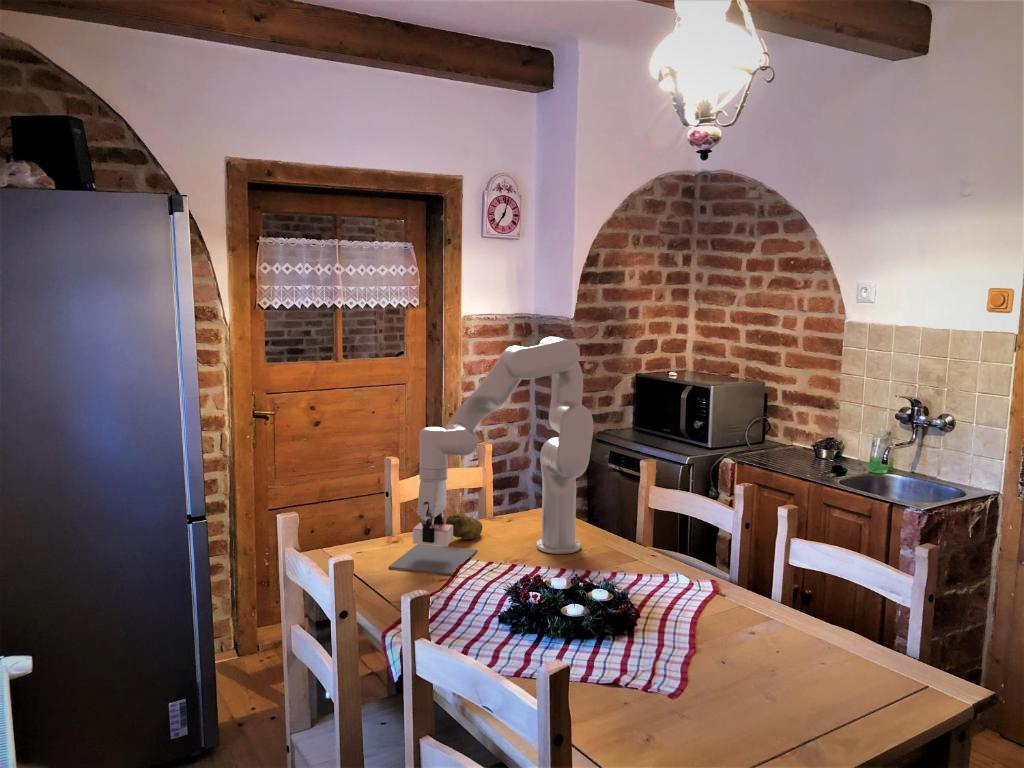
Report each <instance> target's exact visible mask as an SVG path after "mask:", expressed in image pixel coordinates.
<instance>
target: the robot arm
mask: <svg viewBox="0 0 1024 768" xmlns="http://www.w3.org/2000/svg"><path fill="white" fill-rule="evenodd" d="M580 357H581V351H580V348H579V346H578V345H577V343H576V342H574V341H572V340H570V339H567V338H562V337H558V336H548V337H545V338H543V339H541V340H540V341H539V344H538V345H534V346H529V347H527V346H526V347H525V346H520V345H512V346H508V347H507V348H506V349H505V350H503V352H502V353H501V354H500V356H499V357H498V359H497V360H496V362H495V363H494V364H493V366H492V367H491V369H490V370H489V372H488V373H487V374H486V376H485V377H484V378H483V381H482V382H481V383H480V384H479V386H478V387H477V388H476V389H475V390H474V391H473V392H472V393H471V394H470V395H469V396H468V397H467V398H466V400H464V401H463V403H462V404H460V405H459V407H458V408H457V409H456V411H455V412H454V414H453V415H452V416H451V418H450V419H449V421H448V422H447V424H446V425H445V427H441V426H428V427H424V428H422V429H421V430H420V431H419V480H420V481H419V485H418V486H419V488H418V497H417V498H418V500H417V516H418V517H420V519H419V520H420V521H421V522H420V523H422V541H423V542H428V543H433V542H434V528H433V524H445V522H444V520H445V515H444V514H445V511H446V508H447V480H448V475H449V474H448V470H449V469H448V467H449V466H448V464H449V463H448V462H449V461H448V459H449V455H451V456H463V457H464V456H468V455H471V454H473V453H475V452H476V451H477V448H478V447H479V442H480V441H479V437H478V436H477V434H476V432H475V430H476V428H477V426H478V425H479V424H480V423H481V422H482V421H483V419H485V418H486V417H487V416H488V415H489V414H491V413H493V412H495V411H498V410H499V409H501V408H503V407H504V406H505V405H506V403H507V402H508V401H509V399H510V398H511V396H512V395H513V393H514V392H515V391H516V389H517V388H518V385H520V383H521V381H522V380H534V379H537V378H538V379H539V378H543V377H548V376H551V378H552V386H551V390H552V391H551V397H550V405H549V411H548V423H549V425H550V427H551V428H552V429H553V430H554V431H555V432H557V433H558V437H557V436H556V437H551V438H549V439H547V440H546V441H545V442H544V443H543V445H542V446H541V448H540V449H541V450H540V453H539V455H540V456H539V458H540V460H539V462H540V468H541V479H542V480H541V481H542V482H541V483H542V487H541V488H542V495H541V496H542V497H541V498H542V499H541V501H542V502H541V503H542V504H541V539H538V540H537V542H536V545H535V546H536V548H537V549H538V550H539V551H541V552H544V553H547V554H554V555H555V554H556V555H563V554H565V555H566V554H573V553H576V552H578V551H580V550H581V547H582V546H581V545H582V544H581V542H580V541H579V540H576V527H577V526H576V520H577V519H576V517H577V515H576V513H577V512H576V510H577V505H576V504H577V481H576V479H577V478H579V477H581V476H582V475H583V474H584V473H585V472H586V471H587V468H588V466H589V463H590V456H591V450H592V444H593V443H592V441H593V435H594V419H593V415H592V413H591V411H590V410H589V409H588V408H587V407H586V405H585V406H584V405H583V404H582V403H583V402H582V401H583V391H584V374H583V370H582V367H581V365H580V363H579V361H580ZM429 519H430V520H429Z"/></svg>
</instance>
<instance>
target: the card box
mask: <svg viewBox="0 0 1024 768" xmlns="http://www.w3.org/2000/svg"><path fill="white" fill-rule="evenodd" d="M433 528H434V542H433V543H428V542H423V541H422V523H421V522H419V523H418V524H417V525H415V526H414V527H413V528H412V544H415V545H417V544H426V545H436V546H446V547H449V544H450V543H451V542H452V541H454V536H453V525H446V523H444V524H433Z"/></svg>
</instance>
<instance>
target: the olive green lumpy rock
mask: <svg viewBox="0 0 1024 768" xmlns="http://www.w3.org/2000/svg"><path fill="white" fill-rule="evenodd" d="M445 525H453V538H459V539H460V538H461V539H463V540H474V539H477V538H478V537H479V536H481V534H482V531H483V524H482V522H481V521H480V520H478V519H476V518H472V517H469V516H467V515H466V514H463V513H453V514H451V515H448V517H447V518H446V520H445Z"/></svg>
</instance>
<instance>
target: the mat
mask: <svg viewBox="0 0 1024 768" xmlns="http://www.w3.org/2000/svg"><path fill="white" fill-rule="evenodd" d="M476 552H477V553H478V549H477V548H467V547H455V546H442V545H429V544H415V545H414V546H413V547H411V548H410V549H409V550H408V551H406V552H405V553H403V555H401V556H400V557H398V558H397V559H396V560H395V561H393V562H392V563H391V564H390V565H388V569H389V570H396V571H397V570H398V571H407V572H414V573H415V572H416V573H424V572H426V573H425V574H433V573H434V574H435V575H436V574H437V575H443V574H444V576H452V574H453V573H454V572H455V571H456V568H458V566H459V565H460V564H463V563H464V562H465V561H466V560H467V559H469V558H470V557H471V558H473V557H474V556H475V555H476V554H477V553H476ZM475 553H476V554H475ZM471 558H470V559H471ZM470 559H469V560H470ZM463 561H464V562H463ZM434 574H433V575H434Z"/></svg>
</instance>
